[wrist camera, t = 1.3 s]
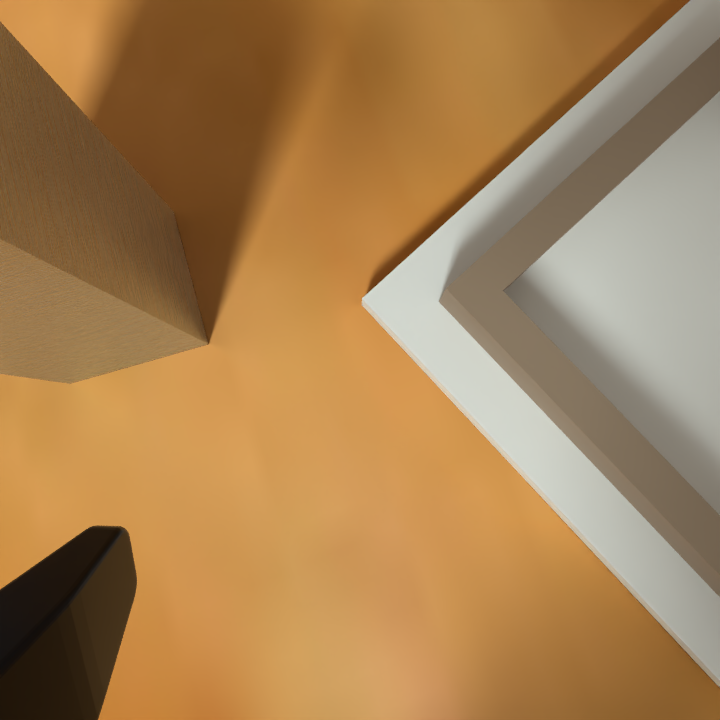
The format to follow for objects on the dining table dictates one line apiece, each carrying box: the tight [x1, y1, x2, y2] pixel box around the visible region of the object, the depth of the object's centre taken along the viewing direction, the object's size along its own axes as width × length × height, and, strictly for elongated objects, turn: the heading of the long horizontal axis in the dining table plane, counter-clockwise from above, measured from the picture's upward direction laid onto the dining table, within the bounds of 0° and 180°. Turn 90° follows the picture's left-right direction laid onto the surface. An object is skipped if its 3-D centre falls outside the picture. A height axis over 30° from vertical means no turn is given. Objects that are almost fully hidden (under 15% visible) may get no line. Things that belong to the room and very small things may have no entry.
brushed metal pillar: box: [0, 22, 208, 384], centre depth 16 cm, size 5×5×13 cm
